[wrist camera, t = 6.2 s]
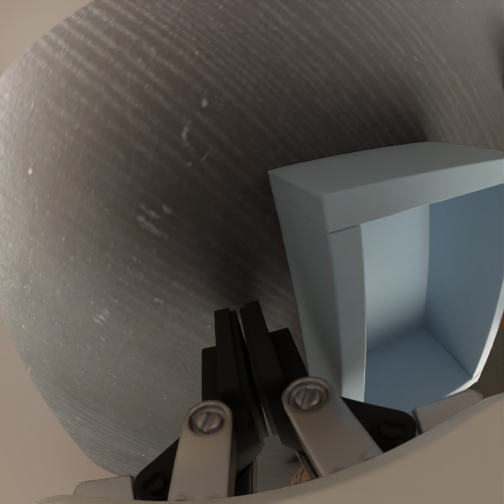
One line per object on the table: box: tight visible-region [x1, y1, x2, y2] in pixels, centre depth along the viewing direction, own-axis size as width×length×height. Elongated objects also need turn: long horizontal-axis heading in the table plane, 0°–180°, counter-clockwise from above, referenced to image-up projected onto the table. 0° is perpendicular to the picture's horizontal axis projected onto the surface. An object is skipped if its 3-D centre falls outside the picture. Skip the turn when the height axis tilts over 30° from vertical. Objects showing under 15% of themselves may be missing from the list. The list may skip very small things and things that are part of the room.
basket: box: [268, 141, 504, 412], centre depth 10 cm, size 11×8×6 cm
